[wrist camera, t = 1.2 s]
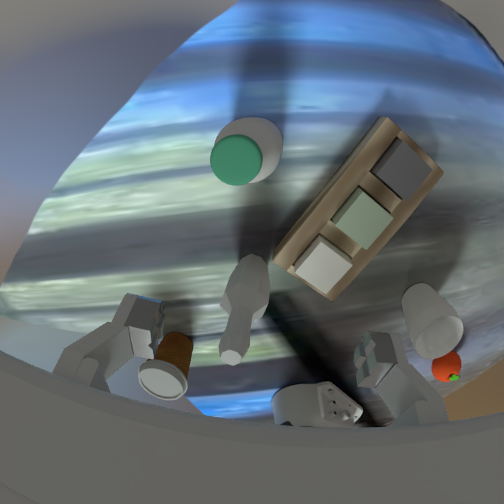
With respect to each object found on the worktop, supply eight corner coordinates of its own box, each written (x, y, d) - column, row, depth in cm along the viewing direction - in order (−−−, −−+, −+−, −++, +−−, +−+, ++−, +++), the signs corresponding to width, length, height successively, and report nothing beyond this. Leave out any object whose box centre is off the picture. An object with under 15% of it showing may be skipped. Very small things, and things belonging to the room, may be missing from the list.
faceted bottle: (226, 268, 54) (192, 357, 34) (249, 241, 51) (223, 325, 31) (255, 289, 55) (237, 384, 35) (279, 265, 53) (272, 356, 33)
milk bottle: (226, 121, 44) (184, 126, 26) (278, 113, 43) (272, 110, 25) (235, 171, 47) (201, 209, 29) (286, 164, 46) (285, 197, 28)
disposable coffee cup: (180, 318, 59) (160, 360, 49) (210, 352, 62) (196, 395, 51) (148, 334, 62) (126, 374, 52) (176, 365, 65) (160, 405, 54)
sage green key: (385, 209, 44) (393, 218, 41) (360, 239, 47) (366, 250, 43) (356, 185, 43) (362, 191, 40) (331, 216, 46) (334, 225, 42)
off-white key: (348, 253, 48) (352, 265, 44) (323, 281, 50) (325, 294, 46) (318, 231, 47) (320, 241, 43) (294, 260, 49) (294, 272, 46)
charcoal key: (421, 164, 41) (432, 169, 37) (398, 194, 43) (407, 202, 39) (393, 138, 40) (403, 140, 36) (369, 169, 42) (376, 174, 38)
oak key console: (433, 167, 43) (444, 172, 39) (329, 289, 53) (332, 302, 50) (379, 116, 41) (387, 116, 37) (273, 250, 52) (272, 261, 48)
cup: (394, 282, 52) (415, 323, 41) (439, 271, 50) (467, 308, 39) (395, 322, 55) (413, 365, 44) (437, 312, 53) (460, 351, 42)
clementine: (462, 350, 56) (474, 371, 50) (442, 371, 59) (451, 393, 53) (443, 339, 56) (454, 361, 49) (421, 361, 58) (431, 384, 52)
